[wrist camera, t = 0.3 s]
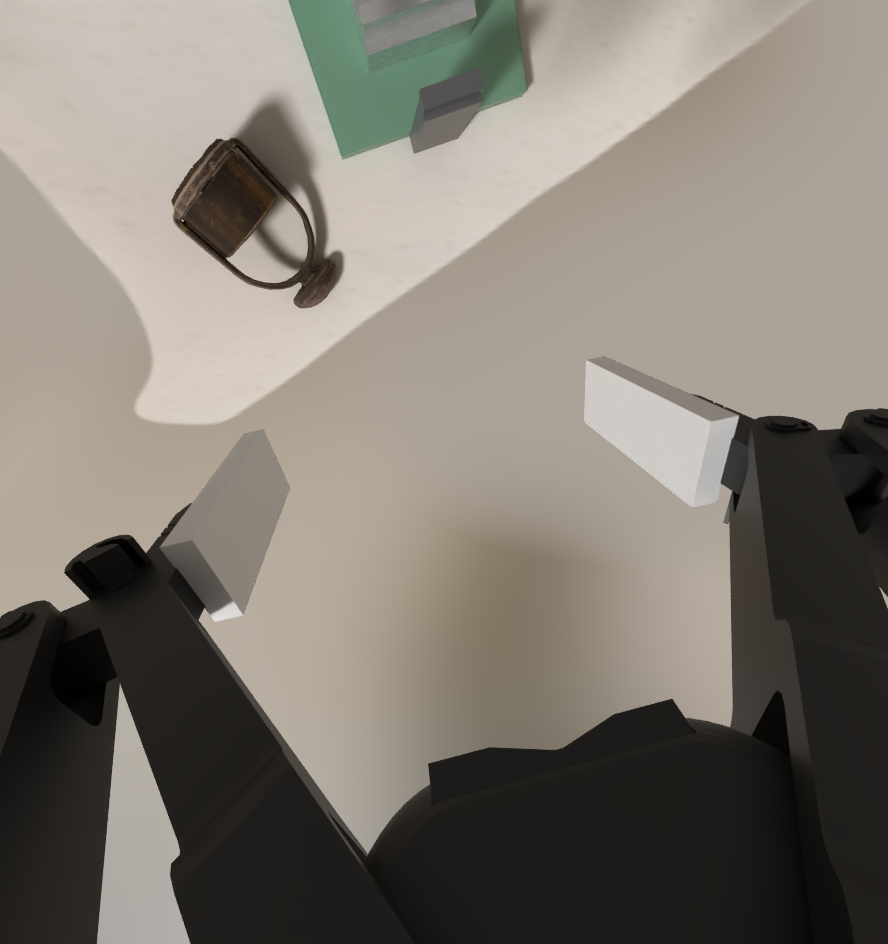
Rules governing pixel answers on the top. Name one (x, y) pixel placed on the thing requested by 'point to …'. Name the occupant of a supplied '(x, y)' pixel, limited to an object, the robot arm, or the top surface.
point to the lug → (445, 110)
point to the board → (402, 71)
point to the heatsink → (409, 28)
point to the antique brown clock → (241, 215)
